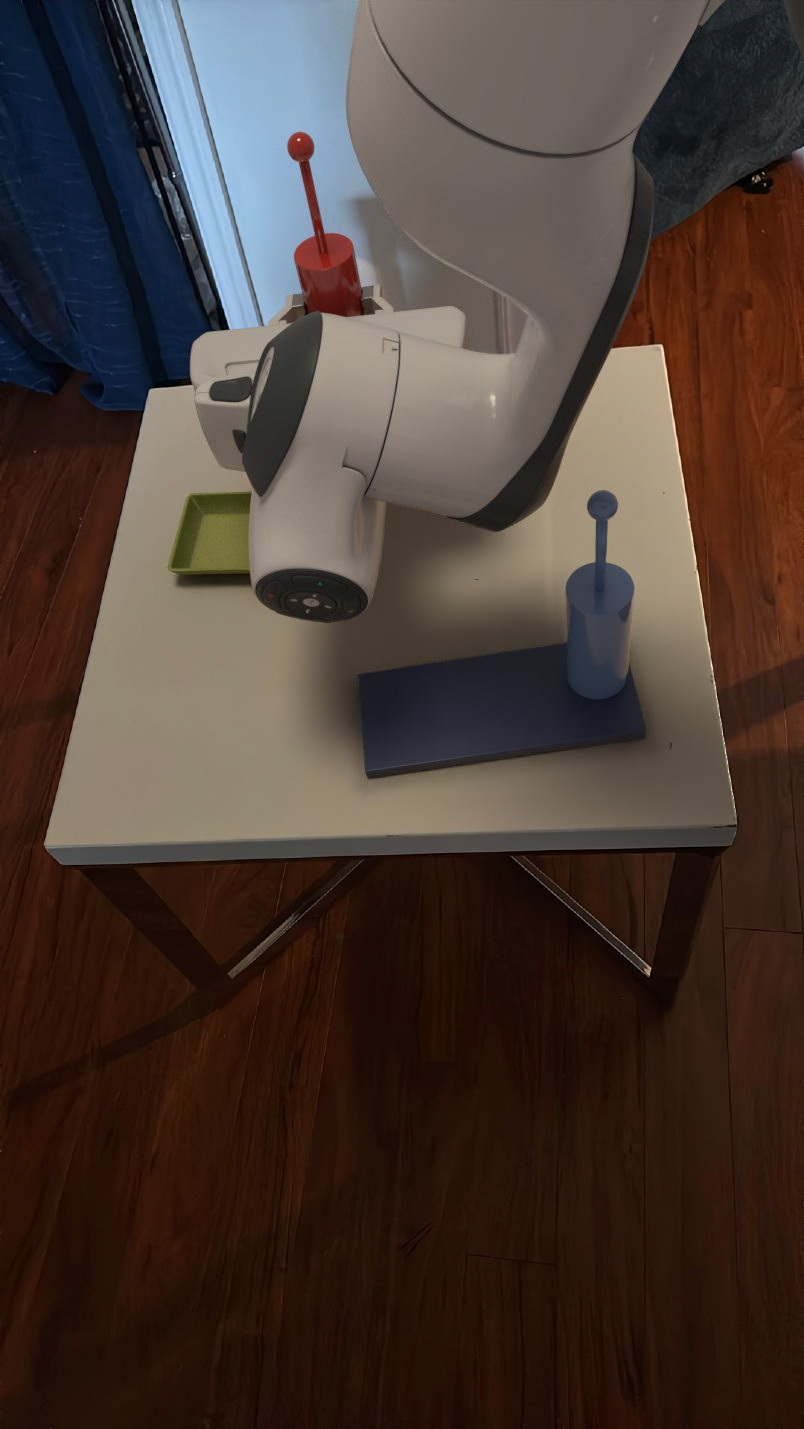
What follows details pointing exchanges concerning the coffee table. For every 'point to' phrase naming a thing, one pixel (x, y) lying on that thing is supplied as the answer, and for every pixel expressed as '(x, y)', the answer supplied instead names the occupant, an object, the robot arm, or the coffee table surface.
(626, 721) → the navy board
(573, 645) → the blue cylinder with rod
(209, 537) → the green tray
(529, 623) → the coffee table surface
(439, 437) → the robot arm
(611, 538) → the coffee table surface
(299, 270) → the red ball-topped plunger
